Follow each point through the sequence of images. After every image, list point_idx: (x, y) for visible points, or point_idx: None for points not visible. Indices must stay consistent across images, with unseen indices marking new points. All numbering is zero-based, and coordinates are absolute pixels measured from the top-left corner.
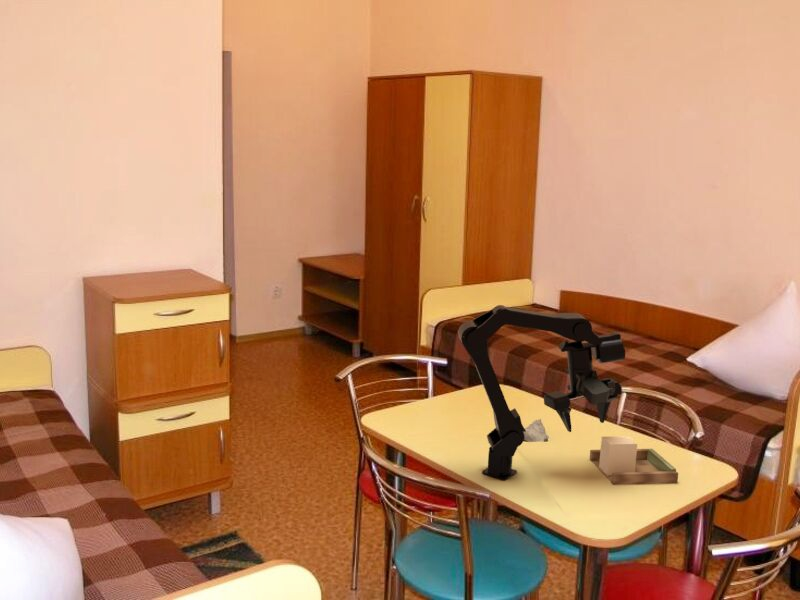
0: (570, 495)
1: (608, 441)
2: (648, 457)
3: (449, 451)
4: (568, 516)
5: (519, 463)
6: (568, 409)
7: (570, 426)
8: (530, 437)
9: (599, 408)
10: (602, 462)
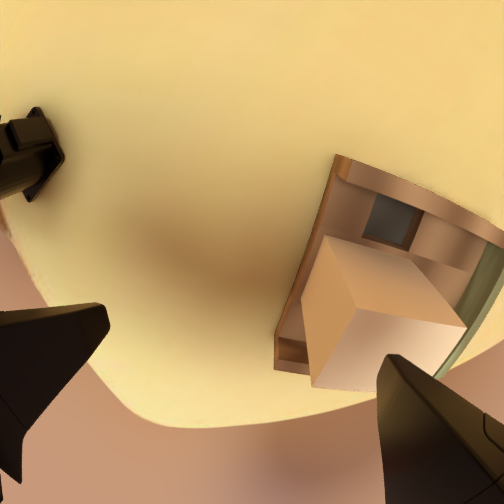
0: (149, 319)
1: (334, 364)
2: (491, 251)
3: (11, 26)
4: (118, 372)
5: (98, 87)
6: (7, 468)
7: (83, 357)
8: None
9: (417, 456)
10: (320, 273)
